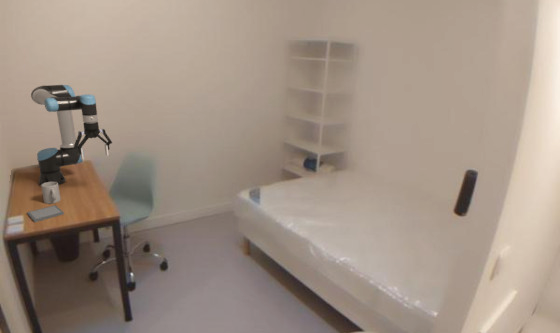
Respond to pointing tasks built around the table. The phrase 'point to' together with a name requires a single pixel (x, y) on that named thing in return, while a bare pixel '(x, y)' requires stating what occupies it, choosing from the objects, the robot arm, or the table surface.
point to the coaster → (45, 213)
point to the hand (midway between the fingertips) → (95, 157)
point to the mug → (50, 192)
